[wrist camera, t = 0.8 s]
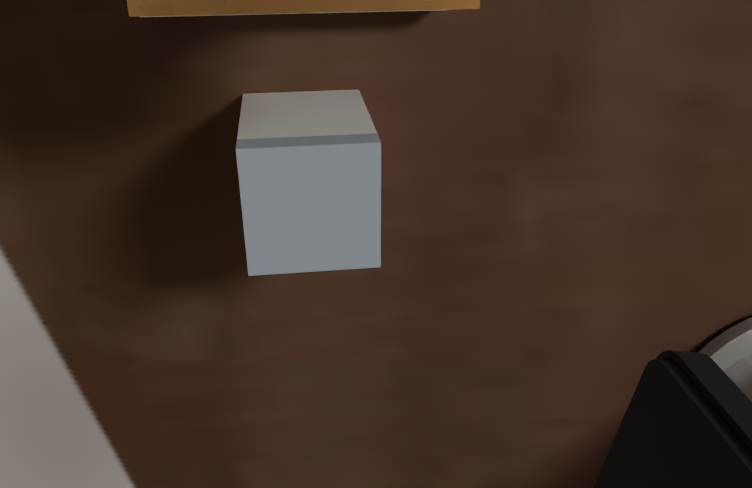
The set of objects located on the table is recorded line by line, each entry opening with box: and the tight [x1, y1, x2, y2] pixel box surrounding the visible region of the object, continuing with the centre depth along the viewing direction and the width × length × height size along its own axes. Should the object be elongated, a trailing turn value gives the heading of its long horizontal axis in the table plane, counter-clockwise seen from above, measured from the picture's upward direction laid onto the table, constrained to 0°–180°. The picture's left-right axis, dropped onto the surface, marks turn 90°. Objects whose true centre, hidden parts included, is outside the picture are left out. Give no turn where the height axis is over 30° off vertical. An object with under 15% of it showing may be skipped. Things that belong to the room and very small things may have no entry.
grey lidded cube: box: [236, 90, 381, 276], centre depth 28 cm, size 5×5×7 cm
